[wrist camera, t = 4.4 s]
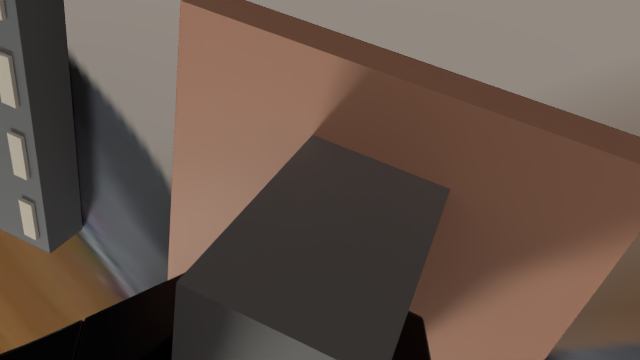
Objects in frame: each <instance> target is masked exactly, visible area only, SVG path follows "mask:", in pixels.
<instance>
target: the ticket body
mask: <svg viewBox="0 0 640 360" xmlns="http://www.w3.org/2000/svg"><path fill="white" fill-rule="evenodd" d="M0 229H1V230H3V231H5V232H7V233H9V234H11V235H13V236H15V237H18V238H20V239H22V240H24V241H26V242H28V243H30V244H32V245H34V246H36V247H38V248H40V249H42V250H44V251H46V252H48V253H51V252H53V251H54V250H55V249H57V248H58V247H59V246H61V245H62V244H63V243H64V242H66V241H67V240H68V239H70V238H71V237H72V236H74V235H75V234H76V233H78V232H79V231H80V230H82V229H83V228H82V216H81V204H80V192H79V180H78V168H77V156H76V144H75V132H74V120H73V108H72V96H71V84H70V72H69V60H68V48H67V36H66V24H65V12H64V1H63V0H0Z"/></svg>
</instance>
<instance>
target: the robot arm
mask: <svg viewBox="0 0 640 360" xmlns="http://www.w3.org/2000/svg"><path fill="white" fill-rule="evenodd" d="M183 275H184V273H183V274H181V275H178V276H176V277H174V278H172V279H170V280H167V281H165V282H163V283H161V284H159V285H157V286H154V287H152V288H150V289H148V290H146V291H143V292H141V293H139V294H137V295H135V296H133V297H130V298H128V299H126V300H124V301H122V302H120V303H117V304H115V305H113V306H111V307H109V308H106V309H104V310H102V311H100V312H98V313H96V314H93V315H91V316H89V317H87V318H85V320H84V321H82V320H80V321H78V322H76V323H73V324H71V325H69V326H67V327H65V328H62V329H60V330H58V331H56V332H53V333H51V334H49V335H46V336H44V337H42V338H39V339H37V340H35V341H32V342H30V343H28V344H25V345H23V346H20V347H17V348H15V349H12V350H9V351H7V352H4V353H2V354H0V360H171V359H172V343H173V326H174V310H175V294H176V282H177V281H178V280H179V279H180V278H181V277H182V276H183ZM392 360H431V356H430V351H429V345H428V340H427V334H426V329H425V323H424V320H423V318H422V317H421V316H419V315H417V314H415V313H413V312H411V311H408V314H407V317H406V320H405V322H404V325H403V328H402V331H401V334H400V337H399V340H398V343H397V346H396V348H395V351H394V354H393V357H392Z"/></svg>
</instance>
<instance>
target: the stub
mask: <svg viewBox="0 0 640 360" xmlns="http://www.w3.org/2000/svg"><path fill="white" fill-rule="evenodd" d="M177 69H178V70H177V89H176V110H175V111H176V112H175V131H174V152H173V174H172V195H171V216H170V237H169V259H168V280H170V279H172V278H174V277H176V276H178V275H181V274H183V273H184V275H183V276H182V277H181V278H180V279H179V280H178V281H177V282H176V294H175V310H174V326H173V343H172V359H171V360H392V357H393V354H394V351H395V348H396V346H397V343H398V340H399V337H400V334H401V331H402V328H403V325H404V322H405V320H406V317H407V314H408V311H411V312H413V313H415V314H417V315H419V316H421V317H422V318H423V320H424V323H425V329H426V334H427V340H428V345H429V351H430V356H431V360H545V358H546V357H547V356H548V354H549V353H550V352H551V350H552V349H553V348H554V346H555V345H556V344H557V342H558V341H559V340H560V338H561V337H562V336H563V334H564V333H565V332H566V330H567V329H568V328H569V326H570V325H571V324H572V322H573V321H574V320H575V318H576V317H577V316H578V314H579V313H580V312H581V310H582V309H583V308H584V306H585V305H586V304H587V302H588V301H589V300H590V299H591V297H592V296H593V294H594V293H595V292H596V290H597V289H598V288H599V287H600V285H601V284H602V283H603V281H604V280H605V278H606V277H607V276H608V274H609V273H610V272H611V271H612V269H613V268H614V266H615V265H616V264H617V263H618V261H619V260H620V258H621V257H622V256H623V255H624V253H625V252H626V251H627V249H628V248H629V247H630V245H631V244H632V243H633V241H634V240H635V239H636V237H637V236H638V235H639V233H640V137H638V136H635V135H632V134H629V133H627V132H624V131H621V130H618V129H615V128H612V127H609V126H606V125H604V124H601V123H598V122H595V121H592V120H589V119H586V118H583V117H580V116H578V115H575V114H572V113H569V112H566V111H563V110H560V109H557V108H555V107H551V106H548V105H546V104H543V103H540V102H537V101H534V100H531V99H528V98H526V97H523V96H520V95H517V94H514V93H511V92H508V91H505V90H502V89H500V88H496V87H494V86H491V85H488V84H485V83H482V82H479V81H477V80H474V79H471V78H468V77H465V76H462V75H459V74H456V73H453V72H451V71H448V70H444V69H442V68H438V67H436V66H433V65H430V64H427V63H425V62H422V61H419V60H416V59H413V58H410V57H407V56H404V55H401V54H399V53H396V52H393V51H390V50H387V49H384V48H381V47H378V46H375V45H373V44H369V43H367V42H364V41H361V40H358V39H355V38H352V37H349V36H346V35H343V34H341V33H338V32H335V31H332V30H329V29H326V28H323V27H321V26H318V25H315V24H312V23H308V22H306V21H303V20H300V19H297V18H294V17H292V16H289V15H286V14H283V13H280V12H277V11H274V10H271V9H269V8H266V7H263V6H260V5H257V4H254V3H251V2H248V1H245V0H181V3H180V26H179V46H178V67H177Z"/></svg>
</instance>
